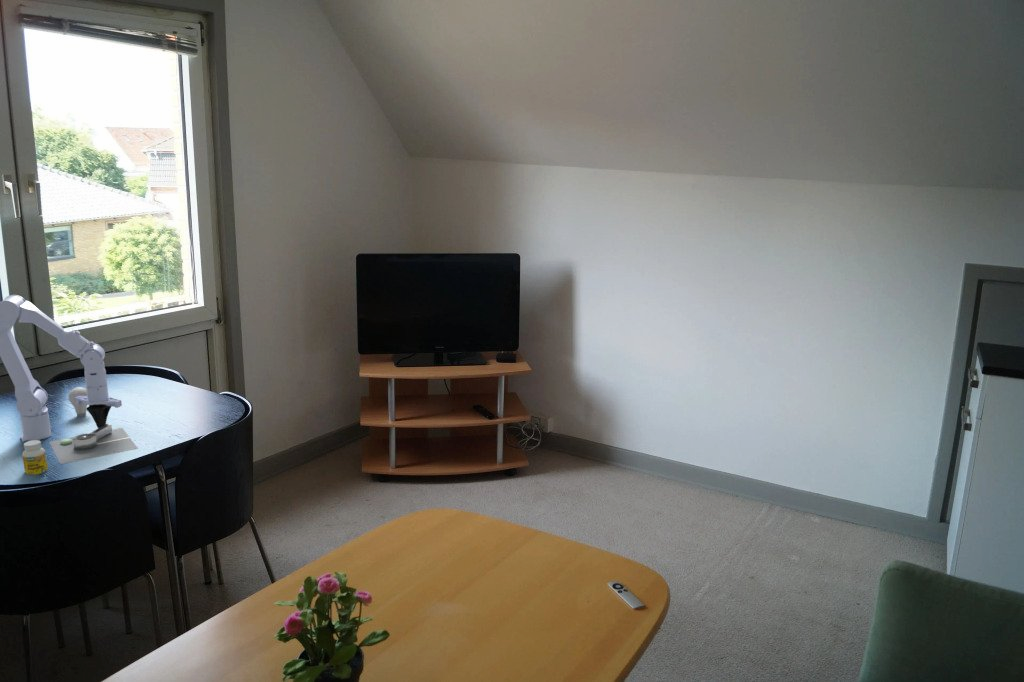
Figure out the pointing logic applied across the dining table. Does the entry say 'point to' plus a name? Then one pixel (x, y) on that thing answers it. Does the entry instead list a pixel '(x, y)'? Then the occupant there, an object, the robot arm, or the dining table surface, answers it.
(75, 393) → the lightbulb
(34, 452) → the supplement bottle
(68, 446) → the plate
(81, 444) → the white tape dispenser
